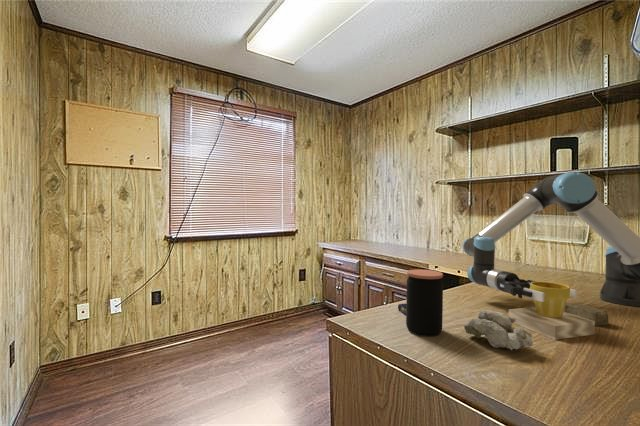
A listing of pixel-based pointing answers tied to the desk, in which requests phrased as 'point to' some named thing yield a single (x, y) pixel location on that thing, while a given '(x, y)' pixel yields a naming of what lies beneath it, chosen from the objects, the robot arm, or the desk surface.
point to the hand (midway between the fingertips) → (560, 296)
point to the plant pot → (551, 298)
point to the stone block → (587, 313)
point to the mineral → (498, 330)
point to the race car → (402, 308)
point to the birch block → (553, 323)
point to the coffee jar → (424, 302)
